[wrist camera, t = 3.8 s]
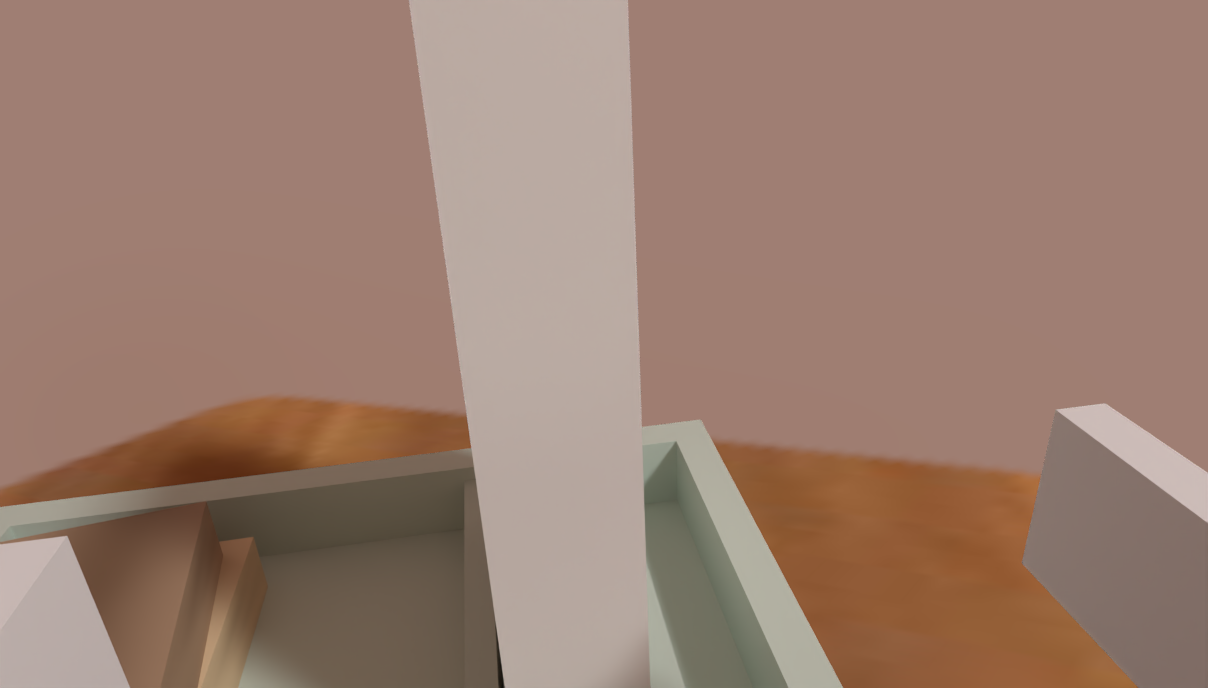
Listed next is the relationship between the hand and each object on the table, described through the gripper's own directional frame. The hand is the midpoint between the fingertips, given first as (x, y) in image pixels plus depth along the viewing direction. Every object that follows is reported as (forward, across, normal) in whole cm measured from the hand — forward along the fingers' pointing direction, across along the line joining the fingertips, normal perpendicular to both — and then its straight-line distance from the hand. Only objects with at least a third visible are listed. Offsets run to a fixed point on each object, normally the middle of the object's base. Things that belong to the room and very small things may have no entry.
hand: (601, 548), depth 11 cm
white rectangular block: (+8, 0, -10) cm, 13 cm away
